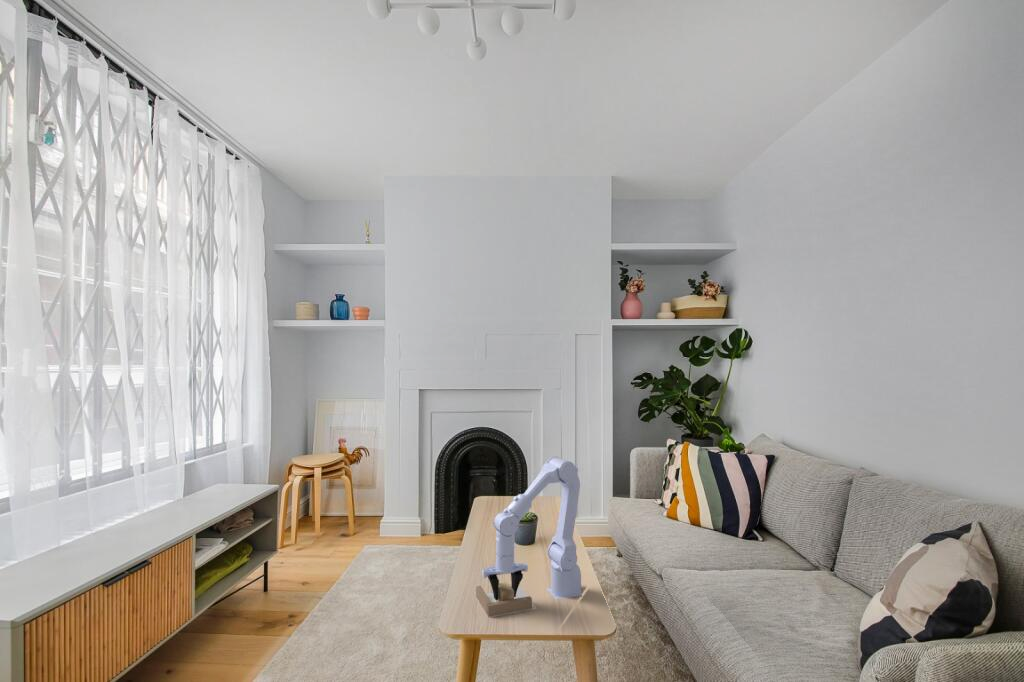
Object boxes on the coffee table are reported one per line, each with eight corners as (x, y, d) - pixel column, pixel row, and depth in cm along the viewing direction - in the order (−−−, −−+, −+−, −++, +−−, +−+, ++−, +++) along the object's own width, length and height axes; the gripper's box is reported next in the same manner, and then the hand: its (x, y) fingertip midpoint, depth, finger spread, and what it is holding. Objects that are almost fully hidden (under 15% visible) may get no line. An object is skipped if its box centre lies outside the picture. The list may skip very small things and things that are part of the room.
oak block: (507, 597, 157) (507, 582, 157) (513, 607, 152) (514, 590, 152) (495, 599, 156) (495, 584, 156) (501, 609, 150) (501, 592, 150)
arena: (520, 589, 165) (520, 578, 165) (537, 609, 151) (537, 598, 151) (475, 596, 159) (475, 585, 159) (488, 618, 146) (488, 606, 146)
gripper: (522, 545, 160) (521, 587, 160) (479, 551, 155) (478, 594, 155) (530, 553, 154) (530, 597, 153) (485, 559, 149) (485, 605, 148)
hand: (504, 597), depth 154 cm, fingers open, 5 cm apart
